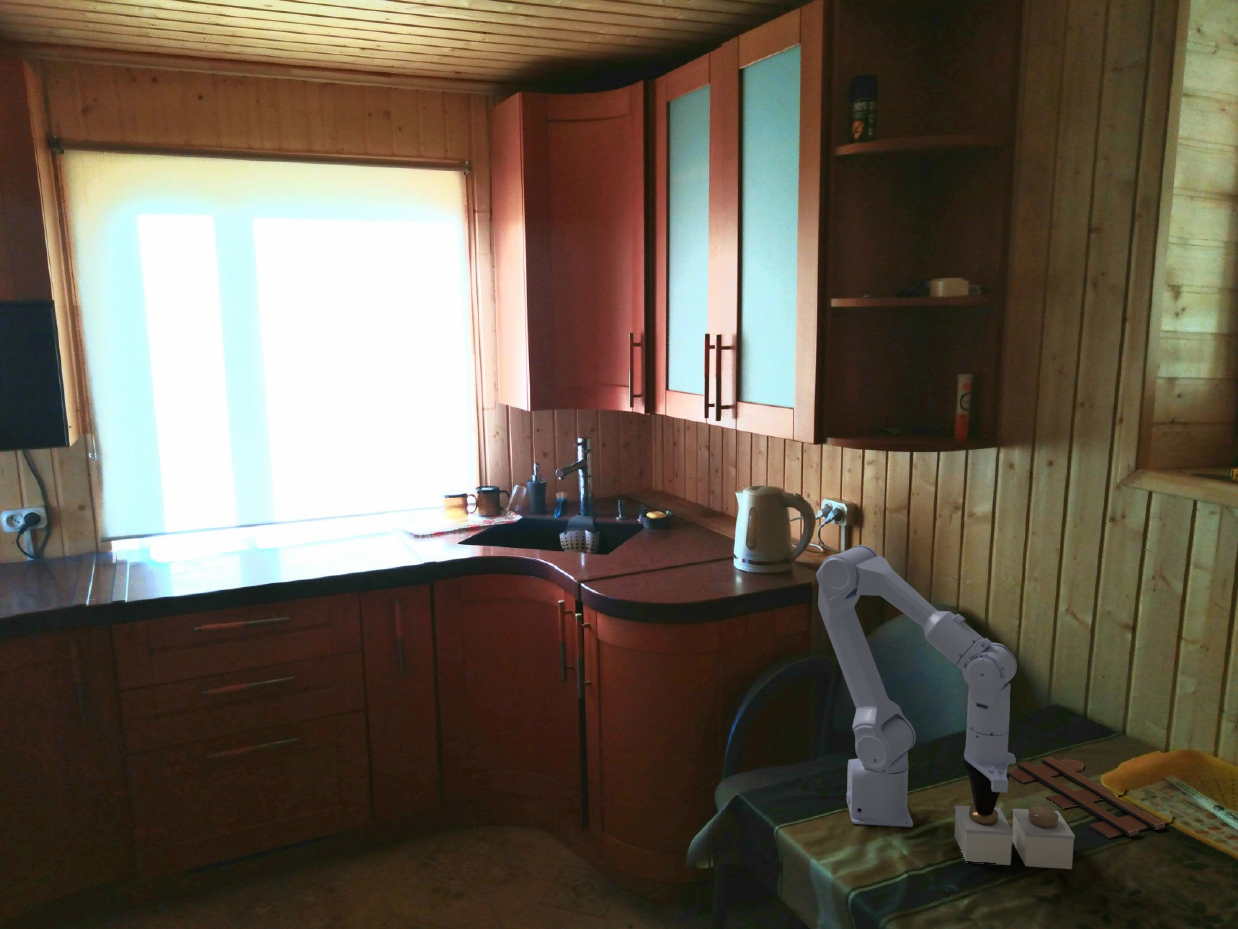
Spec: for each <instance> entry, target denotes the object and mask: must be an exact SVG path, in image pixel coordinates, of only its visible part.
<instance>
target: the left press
mask: <svg viewBox="0 0 1238 929" xmlns="http://www.w3.org/2000/svg"><path fill="white" fill-rule="evenodd" d="M971 806H972V805H954V810H955V815H954V816H955V818H954V839H955V838H956V840H957V842H958V844H957V846H958V845H959V847H960V849H961V851H960V853H961V852H962V854H963V856H962V858H963V857H964V858H963V860H964V859H965V861H971V862H972V861H973V862H989V863H990V862H991V863H996V864H995V865H998V866H999V865H1003V866H1011V864H1012V862H1011V861H1012V844H1013V842H1012V836H1013V828H1011V826H1010V824H1009V822H1008V820H1007V819H1006V816H1005V815H1004V813H1003V811H1002V810H1001V808H1000V807H995V808H994V809H995V810H996V811H997V812H998V822H997V823H996V824H994V825H982V824H979V823H976V822H974V821H973V820H971V819H970V817H969V808H970V807H971ZM956 840H955V841H956ZM957 842H956V843H957ZM959 847H958V848H959ZM960 849H959V850H960ZM962 854H961V855H962ZM965 861H964V862H965Z"/></svg>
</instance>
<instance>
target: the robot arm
mask: <svg viewBox="0 0 1238 929" xmlns="http://www.w3.org/2000/svg"><path fill="white" fill-rule="evenodd" d="M815 577H816V579H817V583H818V597H817V599H818V600H817V601H818V602H817V607H818V610H819V612H820V616H821V619H822V620H823V623H824V627H825V629H826V631H827V634H828V638H829V640H830V642H831V645H832V648H833V650H834V654H835V656H836V658H837V661H838V663H839V667H840V669H841V672H842V675H843V677H844V680H845V683H846V685H847V689H848V691H849V694H850V697H851V698H852V701H853V704H854V707H855V714H854V718H853V723H852V731H853V734H854V737H855V738H854V739H855V741H854V742H855V743H854V747H855V750H854V751H855V753H856V756H857V758H852V759H848V762H847V776H846V777H847V778H846V779H847V780H846V782H847V784H846V787H847V790H846V804H847V807H848V811H849V816H850V820H851V823H852V824H855V825H867V826H868V825H869V826H871V825H873V826H887V827H904V828H913V827H914V822H913V819H912V816H911V814H910V810H909V808H908V789H909V788H908V784H909V782H908V781H909V779H908V778H909V758H908V754H909V753H908V751H909V750H911V749H913V747H914V745H915V744H916V739H917V737H916V732H915V729H914V727H913V725H912V724H911V722H910V721H909V719H907V718H906V716H905V715H904V713H903V711H902V709H901V706H900V705H898V704H897V703H895V701H892V700H891V699H889V697H888V694H887V691H886V689H885V686H884V683H883V680H882V677H881V676H880V672H879V671H878V668H877V664H876V663H875V659H874V657H873V654H872V652H871V648H870V646H869V643H868V642H867V639H866V638H867V637H866V636H865V633H864V631H863V627H862V624H861V622H860V620H859V617H858V615H857V613H856V612H857V611H856V609H855V606H856V604H857V603H858V602H859V601H858V600H859V599H860V597H861V596H879V597H882V599H884V600H885V601H887V602H888V603H890V604H891V605H892V606H893V607H895V608H896V609H897V610H899V611H900V612H902V613H903V614H904V615H906V616H907V617H908V618H909V619H911V620H912V621H914V622H915V623H917V624H918V625H919V626H920V627H921V628H922V629H923V634H924V639H925V641H927V643H929V644H930V645H931V646H932V647H934V648H935V649H936V650H937V651H938V652H940V653H941V654H942V655H943V656H944V657H945V658H947V659H948V660H949V661H951V662H952V664H954V665H955V666H956V667H957V668H959V669H960V670H962V671H961V673H962V677H963V680H964V682H965V683H966V685H967V687H968V694H967V714H966V715H967V716H966V734H965V735H966V736H965V737H966V739H965V748H964V751H963V753H964V754H963V757H964V759H965V760H964V761H962V765H963V766H964V769H965V770H966V773H967V776H968V779H969V784H970V788H971V795H972V798H973V799H972V800H973V805H975V809H976V811H977V813H978V814H989V815H992V813H993V811H994V808H996V805H997V802H998V799H999V796H1000V794H1001V793H1007V794H1008V791H1009V790H1008V789H1009V781H1010V776H1008V774H1007V772H1008V768H1009V764H1010V765H1011V764H1015V763H1016V760H1017V758H1016V757H1015V755H1014V753H1011V752H1009V749H1008V748H1009V732H1010V712H1011V709H1010V708H1011V699H1010V697H1011V683H1010V681H1011V680H1012V679H1013V678H1014V676H1015V675H1016V673H1017V669H1018V664H1017V660H1016V658H1015V655H1014V654H1013V653H1012V652H1011V651H1010V650H1009V649H1008V647H1007V646H1006V645H1004V644H1002V643H998V642H992V641H991V640H990V639H989V638H988V637H985V638H984V637H983V636H981V635H980V634H979V633H978V632H977V631H976V630H974V629H973V628H972V627H971V626H970V625H968V624H967V623H966V622H964V621H965V620H966V618H965V617H964V616H962V615H961V614H960V613H957V614H954V613H953V612H952V611H950V610H949V611H945V610H943V611H942V610H940V611H939V610H937V609H936V608H935V607H934V605H932V604H931V603H930V602H929V601H927V600H926V599H925V598H924V597H923V596H922V595H921V594H920V593H919V592H918V591H917V590H915V589H914V588H913V587H912V586H911V585H910V584H909V583H908V582H907V581H906V580H905V579H904V578H902V577H901V576H900V575H899V574H898V573H897V572H896V571H895V570H894V569H893V567H892V566H891V565H890V563H889V562H888V560H887V559H886V558H885V557H883V556H881V555H879V554H878V553H877V552H876V551H875V550H874V549H873V548H872V547H870V546H868V545H863V544H857V545H854V546H853V547H850V548H849V549H847V550H845V551H842V552H840V553H836V554H833V555H829V556H828V557H826V558H824V560H823V561H822V563H821V564H820V566H819V568H818V570H817V571H816V573H815Z"/></svg>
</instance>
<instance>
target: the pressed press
mask: <svg viewBox="0 0 1238 929" xmlns="http://www.w3.org/2000/svg"><path fill="white" fill-rule="evenodd" d="M1012 813H1013V815H1012V831H1013V836H1012V844H1013V843H1014V844H1013V846H1014V845H1015V846H1014V847H1015V849H1016V851H1017V853H1018V854H1019V857H1020V858H1021V860H1022V862H1023V864H1024V866H1025V867H1033V868H1034V867H1035V868H1047V869H1049V868H1050V869H1066V870H1072V869H1073V860H1074V859H1073V856H1074V840H1076V835H1075V833H1074V832H1073V831H1072V830H1071V828H1070V827H1069V825H1068V823H1067V822H1066V821H1065V819H1064V817H1063V815H1061V813H1060V811H1059V810H1052V809H1050V808H1049V807H1048V808H1047V807H1044V806H1032V807H1030V808H1029V809H1026V808H1025V809H1024V808H1012Z"/></svg>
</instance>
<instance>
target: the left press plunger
mask: <svg viewBox="0 0 1238 929" xmlns="http://www.w3.org/2000/svg"><path fill="white" fill-rule="evenodd" d="M970 806H971V807H970V808H969V817H970V819H971V820H973V821H974V822H976V823H979V824H982V825H994V824H996V823H997V822H998V812H997V811H996V810H995V809H994V811H993V813H992V815H989V814H978V813H977V811H976V809H975V805H974V804H973V805H970Z"/></svg>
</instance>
